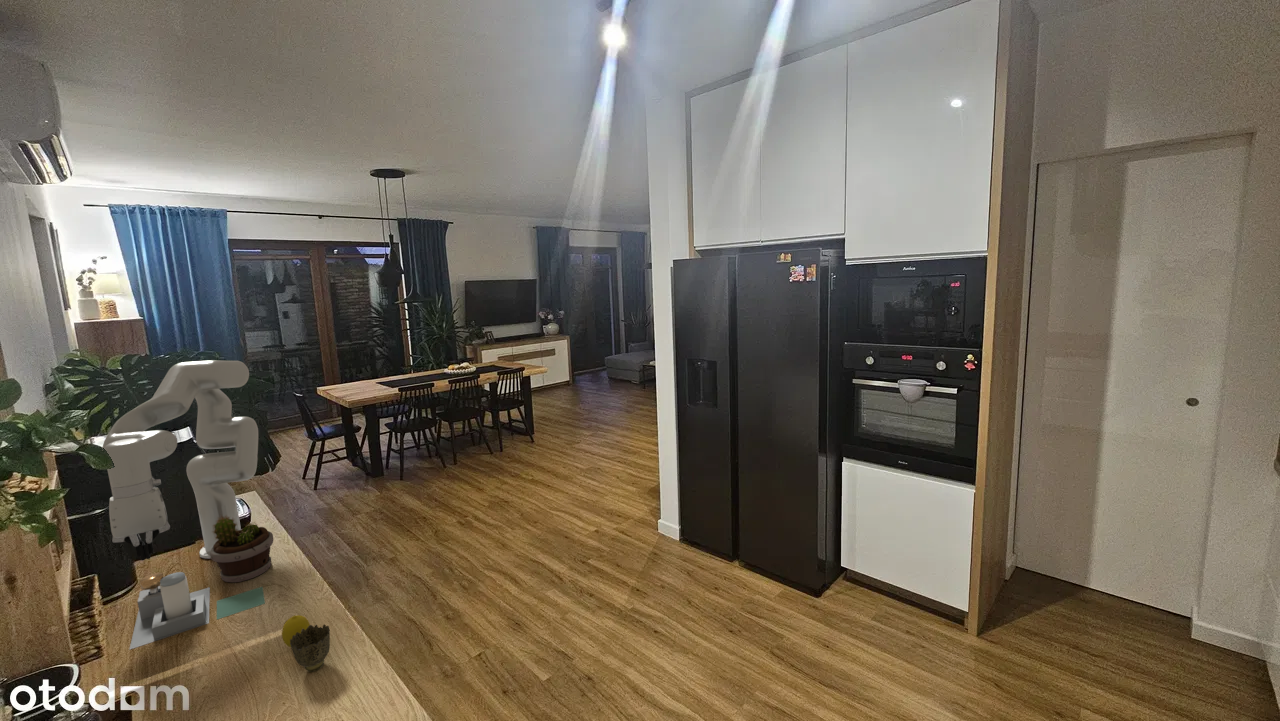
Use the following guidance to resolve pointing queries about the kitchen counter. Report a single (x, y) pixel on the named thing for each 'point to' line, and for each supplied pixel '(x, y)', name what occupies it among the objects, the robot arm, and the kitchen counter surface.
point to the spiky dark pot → (311, 647)
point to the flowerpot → (241, 550)
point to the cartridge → (175, 595)
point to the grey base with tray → (154, 620)
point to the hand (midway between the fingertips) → (146, 557)
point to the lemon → (294, 627)
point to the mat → (240, 602)
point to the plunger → (151, 582)
